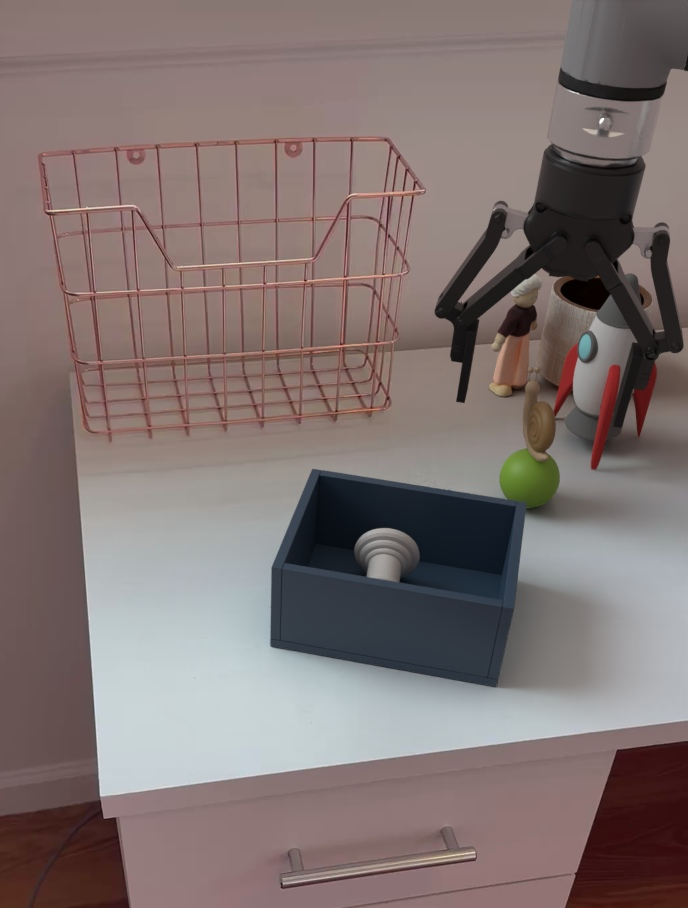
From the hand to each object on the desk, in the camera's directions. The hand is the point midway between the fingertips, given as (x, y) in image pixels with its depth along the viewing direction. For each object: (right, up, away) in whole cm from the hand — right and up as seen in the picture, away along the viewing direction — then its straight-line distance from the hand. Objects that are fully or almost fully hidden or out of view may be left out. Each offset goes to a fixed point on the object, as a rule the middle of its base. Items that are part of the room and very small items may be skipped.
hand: (538, 407), depth 90 cm
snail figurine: (0, -7, +7) cm, 10 cm away
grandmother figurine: (+1, +7, +23) cm, 24 cm away
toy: (+9, 0, +15) cm, 18 cm away
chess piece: (-14, -13, -6) cm, 20 cm away
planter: (+10, +9, +26) cm, 29 cm away
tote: (-13, -18, -6) cm, 23 cm away
